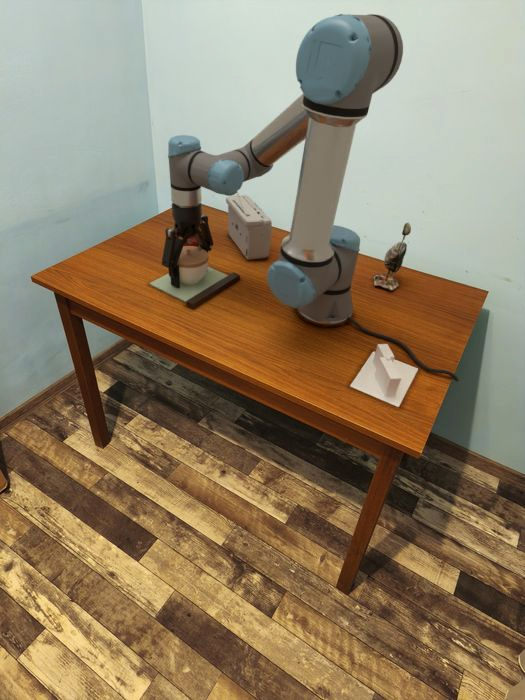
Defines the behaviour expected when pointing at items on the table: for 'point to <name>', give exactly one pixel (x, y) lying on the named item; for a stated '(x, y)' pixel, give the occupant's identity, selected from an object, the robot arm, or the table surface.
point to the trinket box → (192, 264)
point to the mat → (188, 290)
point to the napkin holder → (385, 376)
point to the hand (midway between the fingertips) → (189, 278)
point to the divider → (212, 290)
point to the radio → (249, 227)
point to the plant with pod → (393, 262)
